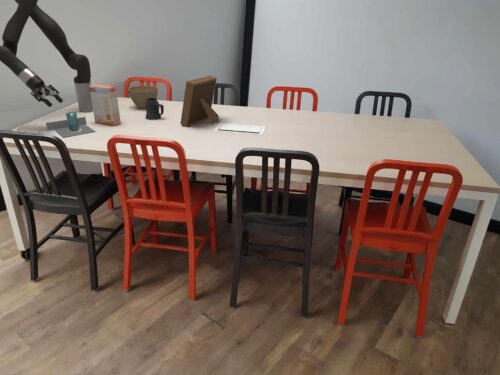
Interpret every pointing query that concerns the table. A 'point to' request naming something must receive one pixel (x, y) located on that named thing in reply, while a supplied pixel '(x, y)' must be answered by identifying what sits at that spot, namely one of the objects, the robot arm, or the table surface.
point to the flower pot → (142, 95)
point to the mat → (82, 130)
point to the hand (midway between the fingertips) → (56, 103)
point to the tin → (72, 121)
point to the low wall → (63, 123)
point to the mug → (153, 109)
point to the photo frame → (199, 101)
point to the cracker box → (105, 104)
